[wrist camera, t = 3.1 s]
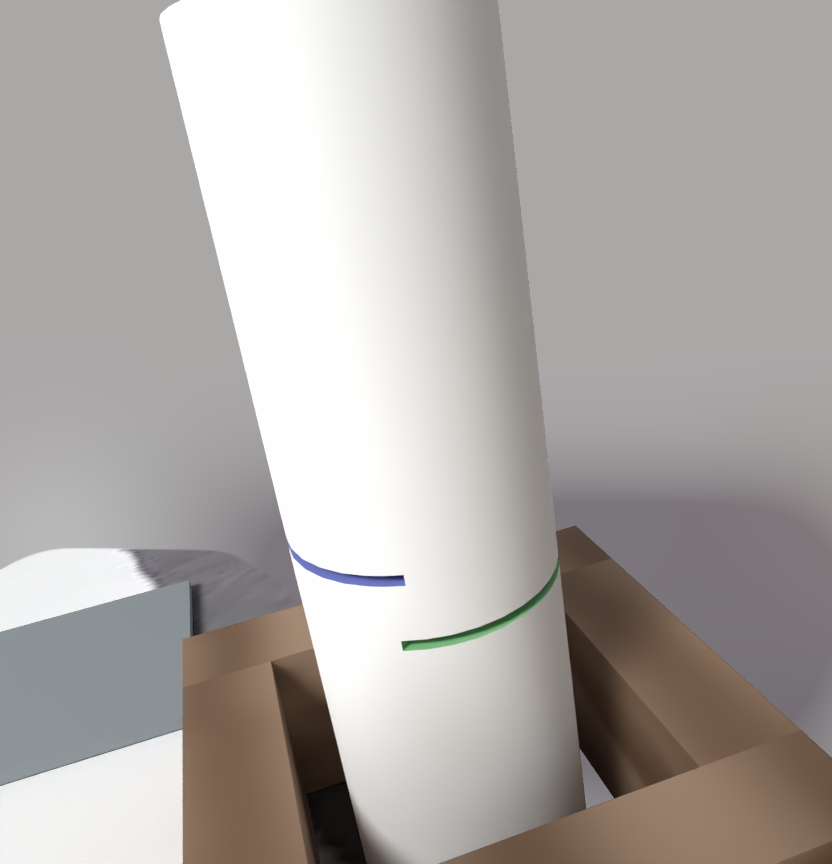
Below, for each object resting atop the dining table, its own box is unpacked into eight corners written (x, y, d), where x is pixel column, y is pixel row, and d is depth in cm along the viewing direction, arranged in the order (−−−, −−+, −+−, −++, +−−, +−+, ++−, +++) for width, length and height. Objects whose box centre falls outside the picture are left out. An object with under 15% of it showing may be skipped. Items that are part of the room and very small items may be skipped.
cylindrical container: (413, 758, 30) (266, 36, 21) (604, 785, 28) (526, -24, 19) (335, 932, 24) (83, 21, 15) (571, 989, 21) (431, -72, 13)
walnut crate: (587, 646, 35) (575, 525, 33) (882, 993, 20) (895, 815, 18) (221, 765, 32) (182, 639, 29) (257, 1280, 17) (183, 1103, 15)
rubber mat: (192, 589, 45) (189, 580, 45) (195, 724, 34) (191, 713, 34) (-34, 651, 43) (-38, 642, 42) (-108, 818, 32) (-114, 807, 31)
